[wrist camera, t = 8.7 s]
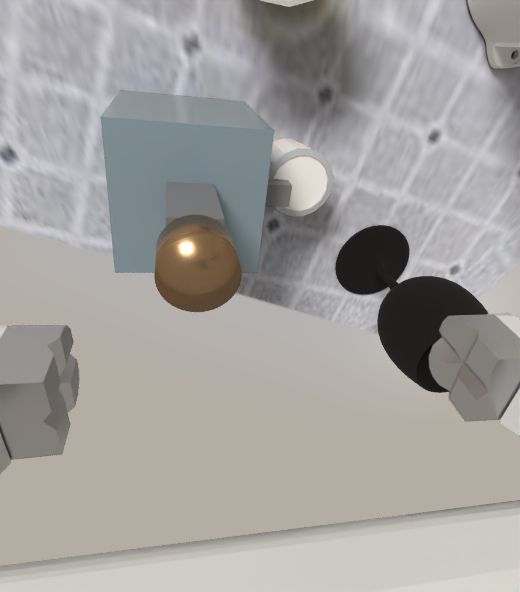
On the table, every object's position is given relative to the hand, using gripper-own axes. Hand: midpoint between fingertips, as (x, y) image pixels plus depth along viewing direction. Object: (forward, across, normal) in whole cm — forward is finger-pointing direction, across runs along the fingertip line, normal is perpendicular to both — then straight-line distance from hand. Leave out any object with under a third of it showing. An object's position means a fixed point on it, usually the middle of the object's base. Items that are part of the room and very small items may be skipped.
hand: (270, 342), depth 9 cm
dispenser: (+38, 0, +6) cm, 39 cm away
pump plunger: (+24, +1, +6) cm, 25 cm away
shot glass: (+39, -10, +7) cm, 40 cm away
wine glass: (+39, -24, +19) cm, 49 cm away
